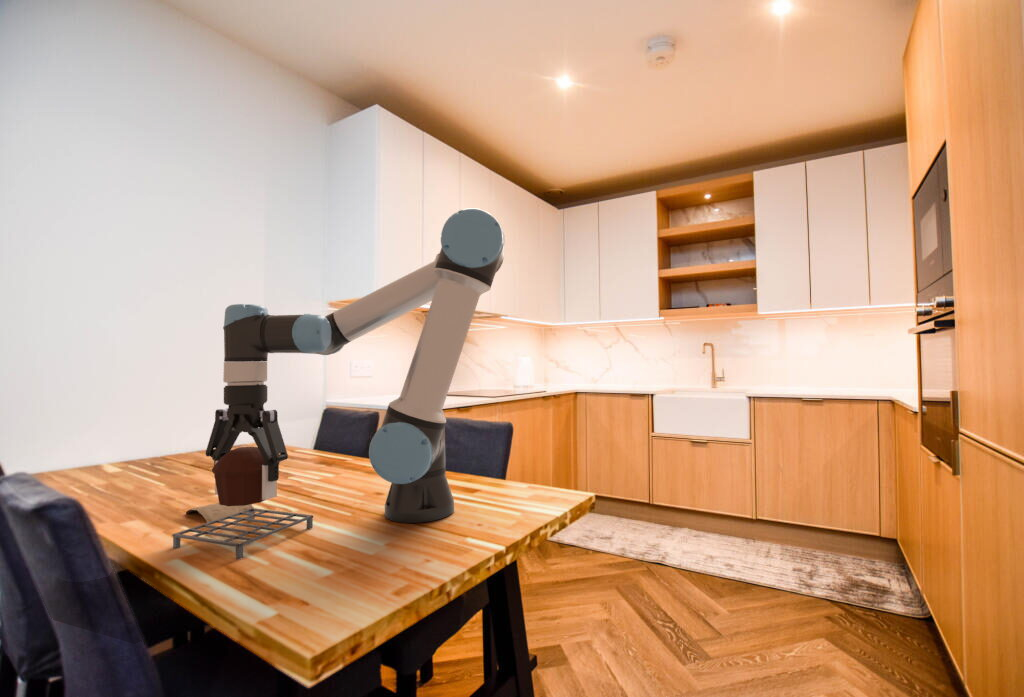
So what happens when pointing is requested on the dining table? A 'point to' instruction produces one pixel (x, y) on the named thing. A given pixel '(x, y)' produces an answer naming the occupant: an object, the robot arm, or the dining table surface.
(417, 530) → the dining table surface
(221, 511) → the curved bark piece
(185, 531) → the cooling rack
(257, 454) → the muffin
